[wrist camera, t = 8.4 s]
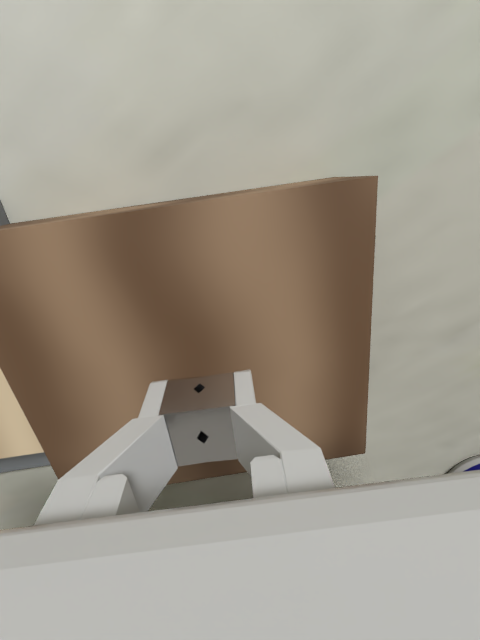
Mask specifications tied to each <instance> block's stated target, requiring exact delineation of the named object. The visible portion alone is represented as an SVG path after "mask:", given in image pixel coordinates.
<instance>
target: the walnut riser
mask: <svg viewBox="0 0 480 640" xmlns="http://www.w3.org/2000/svg"><path fill="white" fill-rule="evenodd" d="M377 183H378V176H359V177H332V178H325V179H318V180H311V181H304V182H298V183H291V184H284V185H277V186H270V187H263V188H256V189H249V190H242V191H235V192H228V193H221V194H214V195H207V196H200V197H193V198H186V199H179V200H172V201H165V202H158V203H151V204H144V205H138V206H131V207H124V208H117V209H110V210H103V211H96V212H89V213H82V214H75V215H68V216H61V217H54V218H47V219H40V220H33V221H26V222H19V223H12V224H7V225H2V226H0V369H1V370H2V372H3V374H4V376H5V378H6V380H7V382H8V384H9V386H10V388H11V390H12V391H13V393H14V395H15V397H16V399H17V401H18V403H19V405H20V407H21V409H22V411H23V412H24V414H25V416H26V418H27V420H28V422H29V424H30V426H31V428H32V430H33V432H34V433H35V435H36V437H37V439H38V441H39V443H40V445H41V447H42V449H43V451H44V453H45V455H46V456H47V458H48V460H49V462H50V464H51V466H52V468H53V470H54V472H55V474H56V476H57V477H58V479H60V478H61V477H62V476H64V475H65V474H66V473H67V472H68V471H70V470H71V469H72V468H73V467H75V466H76V465H77V464H78V463H79V462H81V461H82V460H83V459H84V458H86V457H87V456H88V455H89V454H90V453H92V452H93V451H94V450H95V449H96V448H98V447H99V446H100V445H101V444H103V443H104V442H105V441H106V440H107V439H109V438H110V437H111V436H112V435H114V434H115V433H116V432H117V431H118V430H120V429H121V428H122V427H123V426H124V425H126V424H127V423H128V422H129V421H131V420H132V419H135V418H138V416H139V413H140V410H141V407H142V404H143V402H144V399H145V396H146V393H147V390H148V387H149V384H150V383H151V382H154V381H161V380H171V379H180V378H190V377H200V376H201V377H204V376H211V375H217V374H224V373H231V372H233V373H234V372H236V371H243V370H249V369H250V370H251V374H252V380H253V387H254V393H255V400H256V403H262V404H263V405H264V406H266V407H267V408H268V409H270V410H271V411H272V412H274V413H275V414H276V415H278V416H279V417H280V418H282V419H283V420H284V421H286V422H287V423H288V424H290V425H291V426H292V427H294V428H295V429H296V430H298V431H299V432H300V433H302V434H303V435H304V436H306V437H307V438H308V439H309V440H311V441H312V442H313V443H315V444H316V445H317V446H319V447H320V448H321V450H322V453H323V456H324V458H325V460H326V459H332V458H339V457H345V456H351V455H358V454H364V453H365V448H366V426H367V404H368V382H369V360H370V338H371V316H372V294H373V272H374V249H375V227H376V205H377ZM177 468H178V469H177V470H176V472H175V473H174V474H173V476H172V477H171V479H170V480H169V482H168V483H167V484H174V483H180V482H186V481H193V480H199V479H205V478H212V477H218V476H224V475H231V474H237V473H243V472H247V471H246V470H245V469H244V467H243V466H242V465H241V463H240V462H239V461H238V459H234V460H223V461H213V462H204V463H198V464H191V465H185V466H178V467H177ZM167 484H166V485H167Z"/></svg>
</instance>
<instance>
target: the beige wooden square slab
mask: <svg viewBox="0 0 480 640" xmlns="http://www.w3.org/2000/svg"><path fill="white" fill-rule="evenodd" d="M43 452H44V451H43V449H42V447H41V445H40V443H39V441H38V439H37V437H36V435H35V433H34V432H33V430H32V428H31V426H30V424H29V422H28V420H27V418H26V416H25V414H24V412H23V411H22V409H21V407H20V405H19V403H18V401H17V399H16V397H15V395H14V393H13V391H12V390H11V388H10V386H9V384H8V382H7V380H6V378H5V376H4V374H3V372H2V370H1V369H0V459H1V458H8V457H15V456H22V455H29V454H36V453H43Z"/></svg>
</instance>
